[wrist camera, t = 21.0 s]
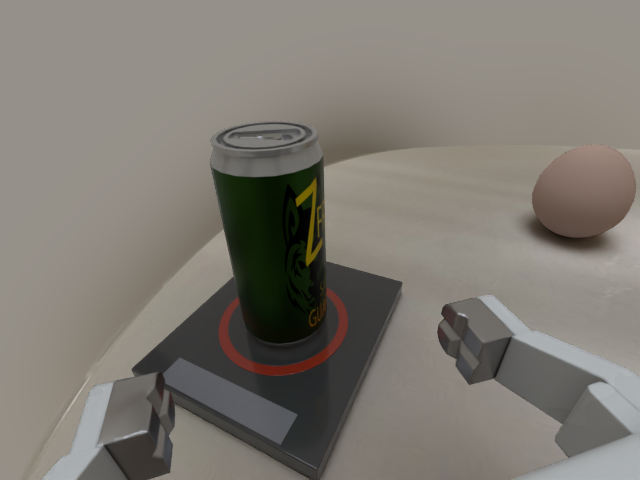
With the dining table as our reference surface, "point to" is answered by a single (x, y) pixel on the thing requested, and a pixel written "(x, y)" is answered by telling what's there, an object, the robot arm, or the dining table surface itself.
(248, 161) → the beer can
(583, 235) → the egg
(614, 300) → the dining table surface
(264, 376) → the hob
